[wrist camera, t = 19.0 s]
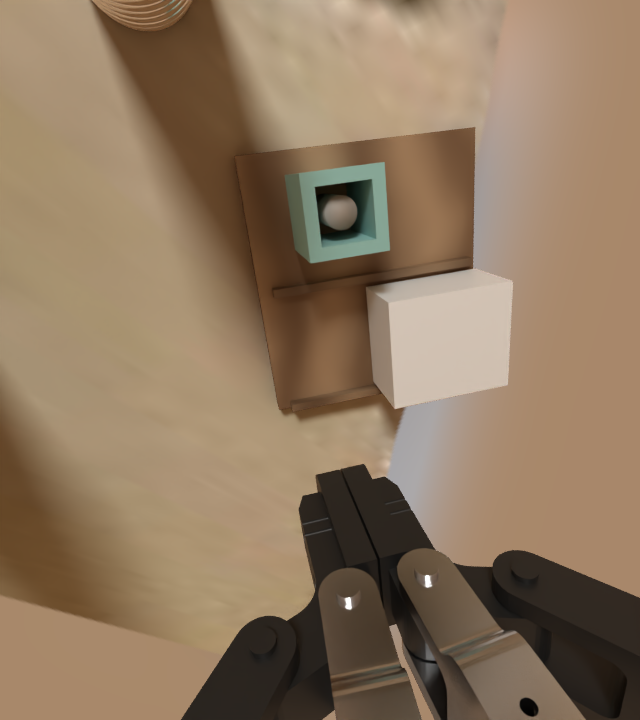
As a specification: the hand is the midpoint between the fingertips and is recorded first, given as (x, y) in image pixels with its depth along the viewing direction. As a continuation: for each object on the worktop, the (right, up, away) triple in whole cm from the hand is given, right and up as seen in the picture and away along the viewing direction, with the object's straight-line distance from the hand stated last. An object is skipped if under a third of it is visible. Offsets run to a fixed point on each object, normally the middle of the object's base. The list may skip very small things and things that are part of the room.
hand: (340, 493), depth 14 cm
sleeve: (0, +15, +18) cm, 23 cm away
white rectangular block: (+8, +7, +23) cm, 25 cm away
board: (+3, +11, +22) cm, 24 cm away
